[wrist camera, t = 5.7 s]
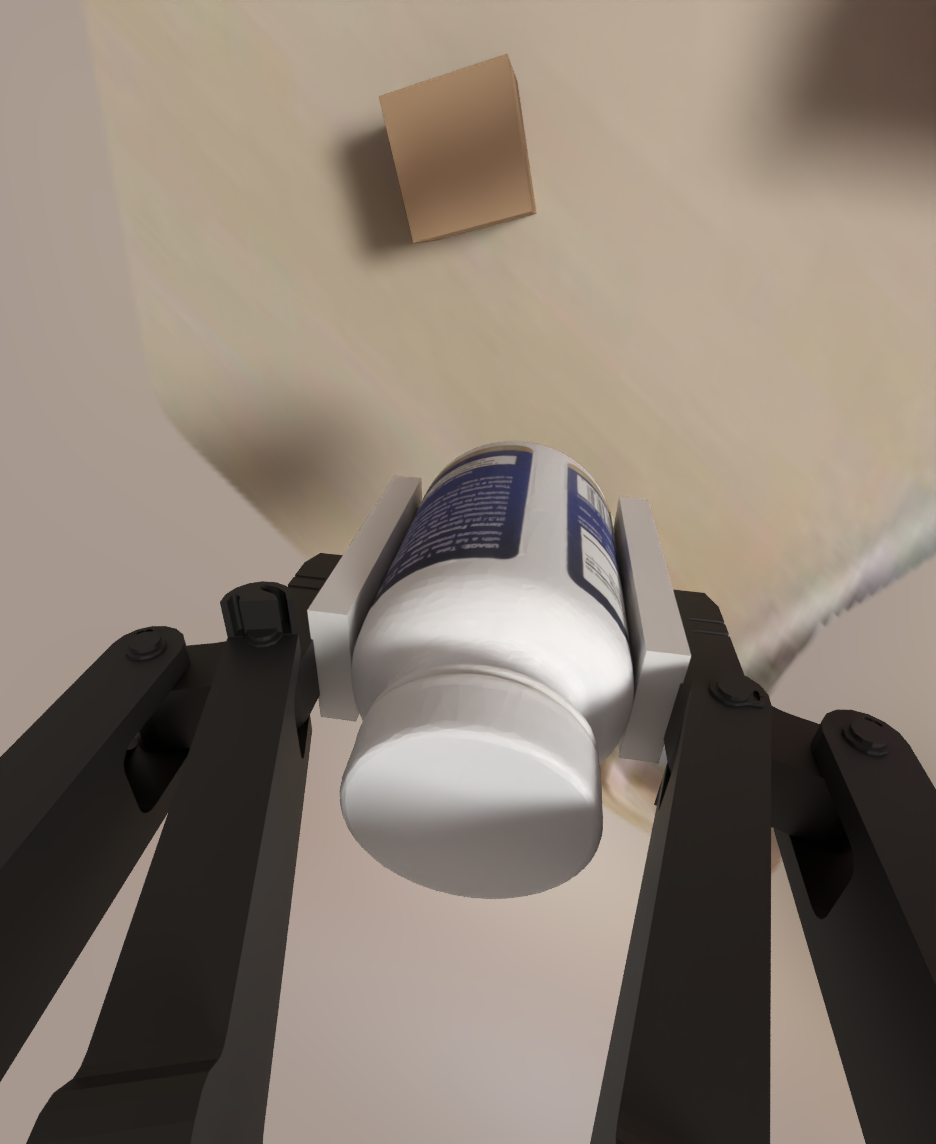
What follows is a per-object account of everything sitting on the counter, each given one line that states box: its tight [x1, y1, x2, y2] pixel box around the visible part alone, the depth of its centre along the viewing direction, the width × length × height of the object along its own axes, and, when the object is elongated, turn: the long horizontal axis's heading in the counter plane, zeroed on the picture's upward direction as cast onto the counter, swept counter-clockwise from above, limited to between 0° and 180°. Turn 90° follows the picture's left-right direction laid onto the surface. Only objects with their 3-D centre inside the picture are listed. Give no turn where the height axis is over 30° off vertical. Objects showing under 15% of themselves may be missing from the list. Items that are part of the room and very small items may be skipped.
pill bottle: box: [340, 441, 634, 899], centre depth 13 cm, size 5×5×10 cm
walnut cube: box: [379, 54, 536, 243], centre depth 25 cm, size 5×5×5 cm
